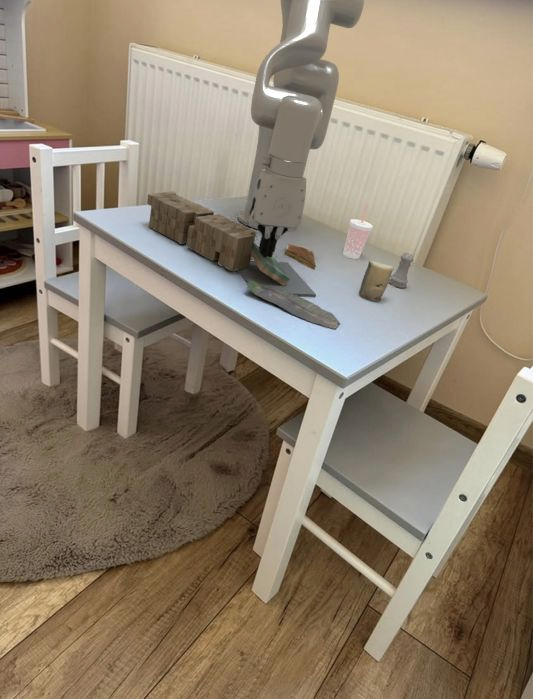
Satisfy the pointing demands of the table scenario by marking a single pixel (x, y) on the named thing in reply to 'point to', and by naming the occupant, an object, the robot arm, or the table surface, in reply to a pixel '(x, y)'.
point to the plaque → (269, 265)
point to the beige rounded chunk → (375, 280)
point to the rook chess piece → (402, 271)
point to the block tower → (201, 229)
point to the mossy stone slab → (294, 304)
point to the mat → (293, 285)
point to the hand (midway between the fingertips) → (265, 254)
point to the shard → (301, 255)
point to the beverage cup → (357, 237)
